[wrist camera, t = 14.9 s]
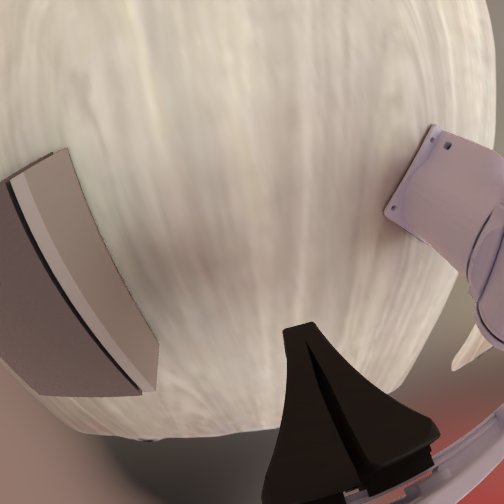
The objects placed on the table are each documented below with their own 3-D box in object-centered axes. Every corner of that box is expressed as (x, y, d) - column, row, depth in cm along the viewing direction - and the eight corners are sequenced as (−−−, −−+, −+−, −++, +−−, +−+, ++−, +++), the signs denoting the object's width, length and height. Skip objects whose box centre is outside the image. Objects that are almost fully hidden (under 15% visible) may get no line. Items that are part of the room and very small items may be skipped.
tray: (70, 353, 25) (58, 393, 20) (-24, 202, 14) (-61, 233, 9) (159, 343, 25) (155, 391, 21) (67, 147, 14) (23, 171, 10)
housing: (52, 355, 25) (39, 394, 20) (-39, 211, 14) (-74, 244, 9) (147, 344, 25) (142, 395, 20) (52, 151, 14) (3, 179, 9)
